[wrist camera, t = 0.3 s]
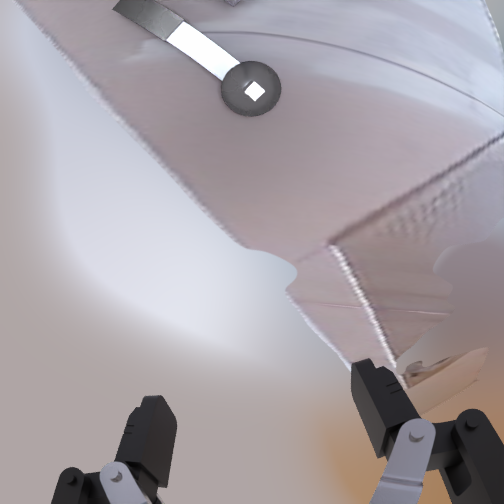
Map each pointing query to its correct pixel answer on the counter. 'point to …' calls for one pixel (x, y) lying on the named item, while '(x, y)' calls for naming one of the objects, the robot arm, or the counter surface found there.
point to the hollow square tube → (232, 2)
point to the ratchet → (209, 58)
